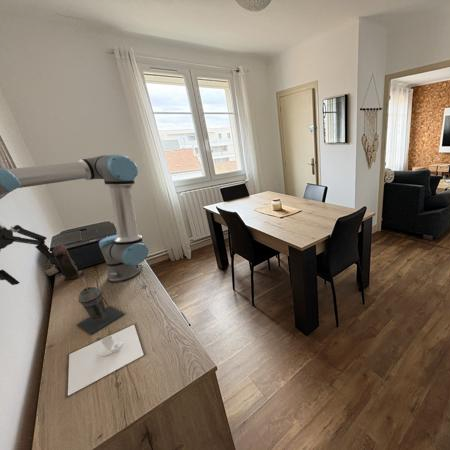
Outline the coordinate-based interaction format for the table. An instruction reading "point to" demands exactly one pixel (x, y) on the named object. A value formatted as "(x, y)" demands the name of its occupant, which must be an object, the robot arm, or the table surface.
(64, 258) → the statue
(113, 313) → the mat
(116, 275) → the robot arm
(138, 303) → the table surface
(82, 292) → the beverage cup
